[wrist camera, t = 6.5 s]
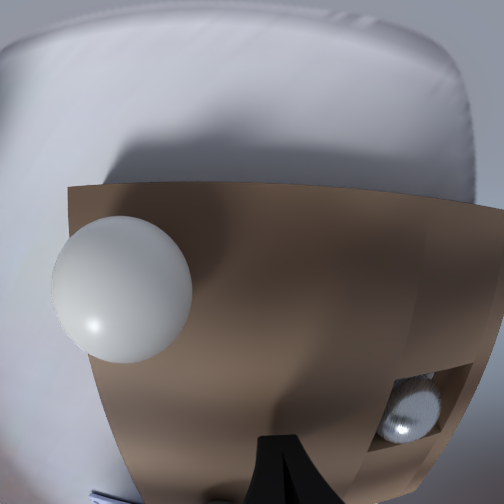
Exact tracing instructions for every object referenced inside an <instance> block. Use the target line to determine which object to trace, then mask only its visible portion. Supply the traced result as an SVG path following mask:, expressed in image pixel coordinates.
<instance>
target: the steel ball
mask: <svg viewBox="0 0 504 504" xmlns="http://www.w3.org/2000/svg"><path fill="white" fill-rule="evenodd" d="M440 411H441V396H440V393H439V390H438V388H437V387H436V385H435V384H434V383H433V382H432V381H431V380H430V379H429V378H427V377H425V376H423V375H418V376H413V377H408V378H402V379H396V380H395V381H394V384H393V387H392V390H391V393H390V396H389V399H388V402H387V405H386V407H385V410H384V413H383V415H382V418H381V420H380V423H379V425H378V428H377V430H376V432H377V433H378V434H379V435H380V436H381V437H382V438H384V439H385V440H387V441H389V442H392V443H398V444H404V443H410V442H413V441H416V440H418V439H420V438H422V437H423V436H425V435H426V434H427V433H428V432H429V431H430V430H431V429H432V428H433V426H434V425H435V423H436V422H437V420H438V418H439V415H440Z"/></svg>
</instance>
